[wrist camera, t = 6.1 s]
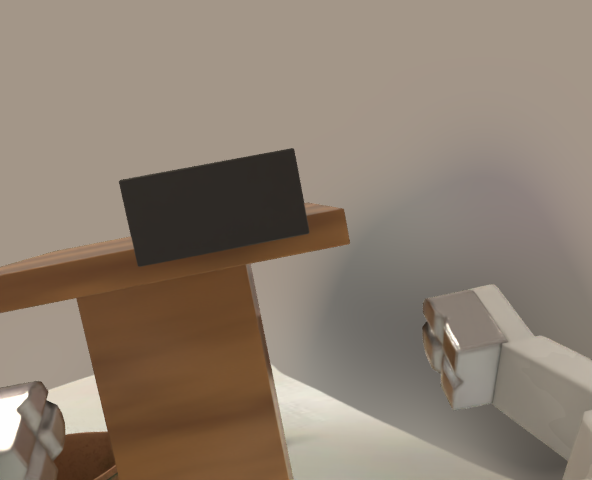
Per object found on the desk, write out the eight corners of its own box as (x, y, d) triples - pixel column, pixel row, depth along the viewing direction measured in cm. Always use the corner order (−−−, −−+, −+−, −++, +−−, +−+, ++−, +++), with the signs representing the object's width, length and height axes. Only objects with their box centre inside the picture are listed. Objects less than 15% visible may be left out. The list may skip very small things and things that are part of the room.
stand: (445, 775, 24) (343, 208, 21) (73, 873, 23) (-83, 290, 20) (375, 562, 38) (308, 202, 35) (141, 618, 37) (53, 251, 34)
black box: (310, 234, 13) (291, 135, 13) (137, 267, 13) (115, 168, 13) (276, 209, 33) (268, 170, 33) (207, 222, 33) (199, 183, 33)
